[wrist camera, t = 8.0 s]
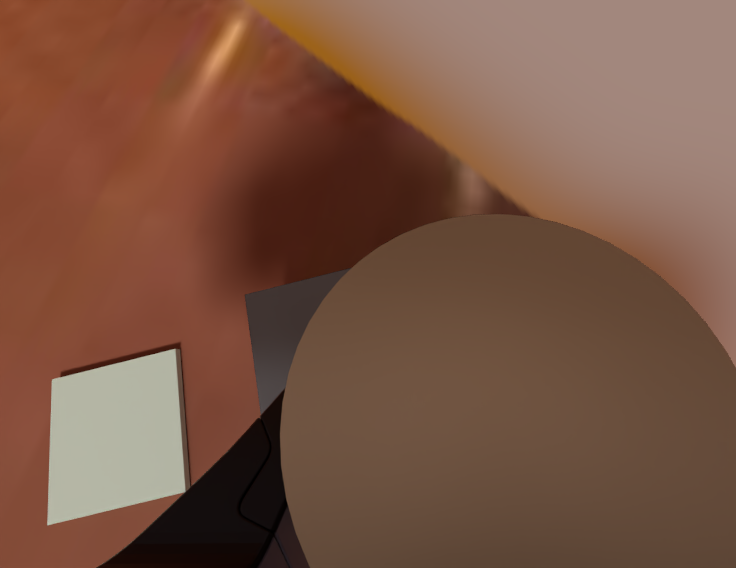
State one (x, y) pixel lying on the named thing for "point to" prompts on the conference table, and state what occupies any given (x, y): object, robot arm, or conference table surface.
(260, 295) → the guard plate
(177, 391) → the pad
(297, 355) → the tan tall cylinder
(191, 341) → the conference table surface
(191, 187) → the conference table surface
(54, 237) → the conference table surface
